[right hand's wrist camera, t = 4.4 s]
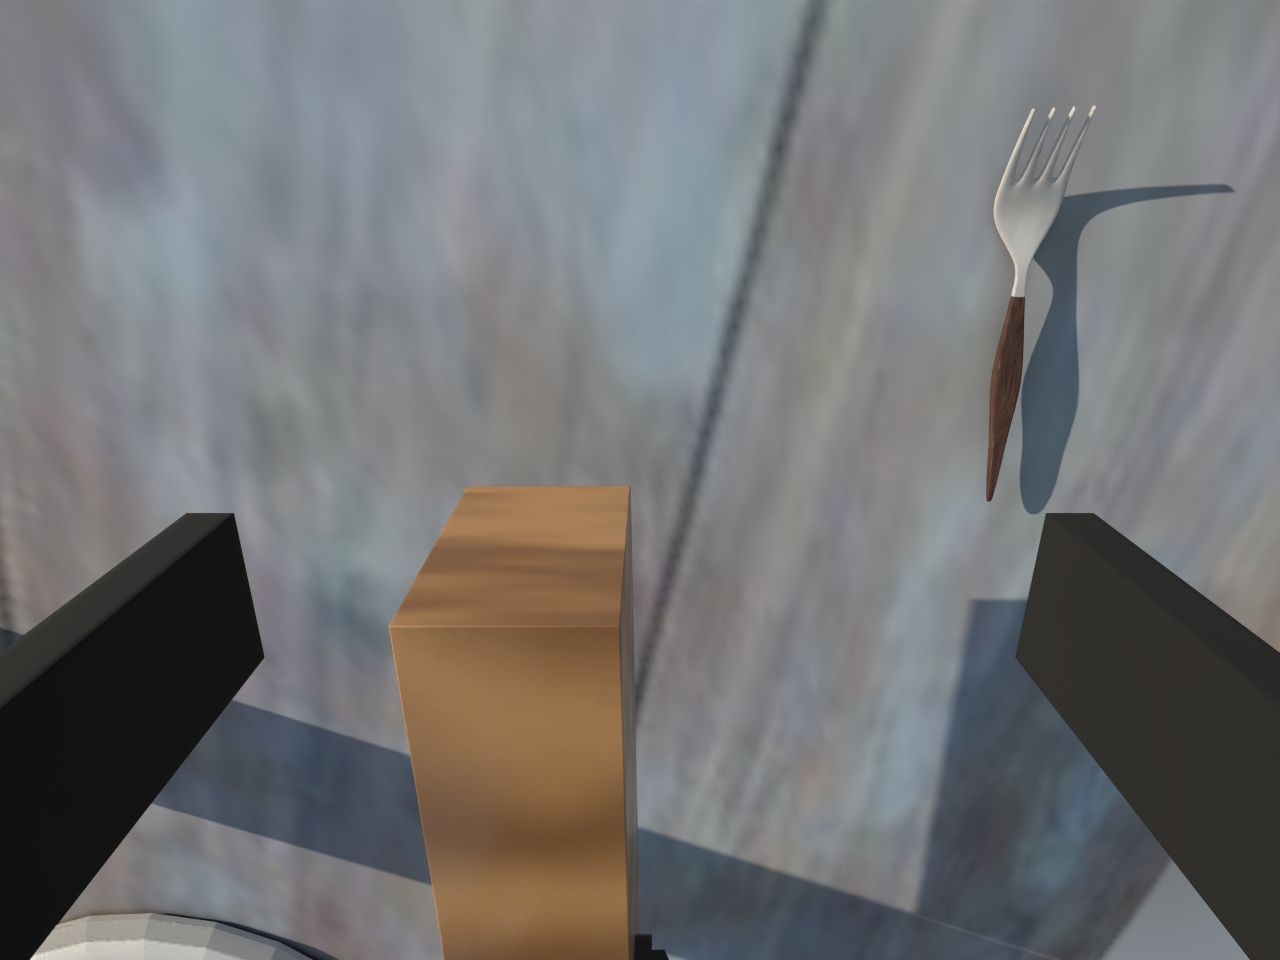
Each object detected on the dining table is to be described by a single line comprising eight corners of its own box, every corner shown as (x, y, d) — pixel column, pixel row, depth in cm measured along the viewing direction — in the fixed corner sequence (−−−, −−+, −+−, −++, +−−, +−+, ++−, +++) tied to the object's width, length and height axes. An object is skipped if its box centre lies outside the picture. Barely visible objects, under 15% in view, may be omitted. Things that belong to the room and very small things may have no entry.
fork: (954, 497, 35) (971, 516, 33) (1004, 111, 29) (1027, 108, 27) (1012, 495, 35) (1032, 514, 33) (1075, 107, 29) (1103, 105, 27)
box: (466, 486, 28) (387, 626, 20) (630, 484, 28) (620, 625, 20) (513, 907, 37) (472, 1129, 28) (639, 908, 37) (634, 1131, 28)
